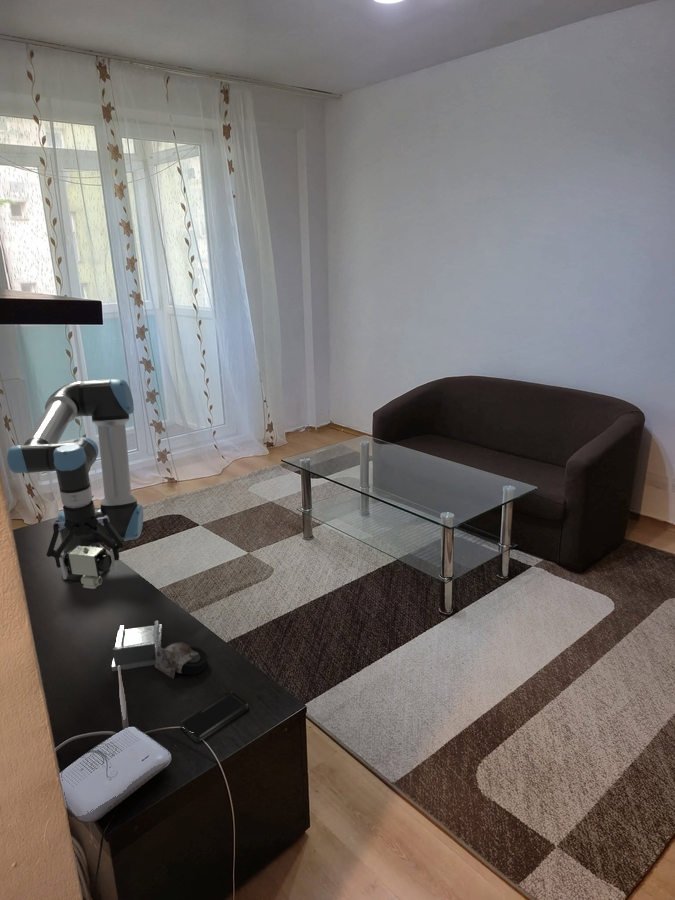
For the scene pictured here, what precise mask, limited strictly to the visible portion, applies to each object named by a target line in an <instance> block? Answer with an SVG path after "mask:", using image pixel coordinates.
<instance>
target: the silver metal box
mask: <svg viewBox="0 0 675 900" xmlns="http://www.w3.org/2000/svg"><path fill="white" fill-rule="evenodd" d="M162 636H163V625H162V624H160V621H159V620H154V625H147V626H141V627H133V628H128V629H127V628H126V629H125V625H124V624H123V625H120V626H119V630H117V636H116V642H115V646H113V647H112V648H111V649H112V650H111V652H112V658H113V659H112V663H111V669H112V672H117V666H118V665H120V666H121V668H122V670H121V671H124V670H129V669H135V668H142V667H143V668H144V667H149V666H153V665H154V666H155V662H156V656H157V651H158V646H160V647H161V648H162V641H163V640H162ZM161 640H162V641H161Z"/></svg>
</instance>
